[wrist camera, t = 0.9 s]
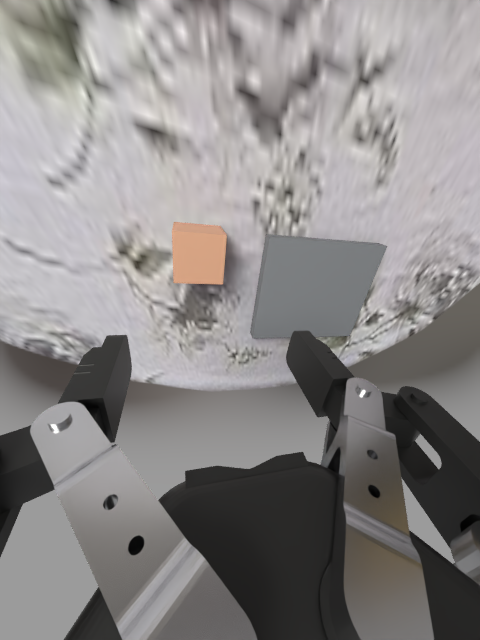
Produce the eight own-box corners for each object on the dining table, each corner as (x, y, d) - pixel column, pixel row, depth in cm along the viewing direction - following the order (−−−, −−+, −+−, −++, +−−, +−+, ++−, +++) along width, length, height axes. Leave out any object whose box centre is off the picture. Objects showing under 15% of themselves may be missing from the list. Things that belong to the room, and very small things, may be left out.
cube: (220, 225, 27) (226, 235, 22) (217, 268, 29) (222, 284, 25) (174, 221, 25) (172, 230, 21) (175, 266, 28) (173, 282, 24)
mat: (378, 243, 32) (387, 246, 30) (344, 330, 39) (349, 335, 37) (265, 234, 28) (269, 237, 27) (250, 332, 35) (252, 338, 34)
